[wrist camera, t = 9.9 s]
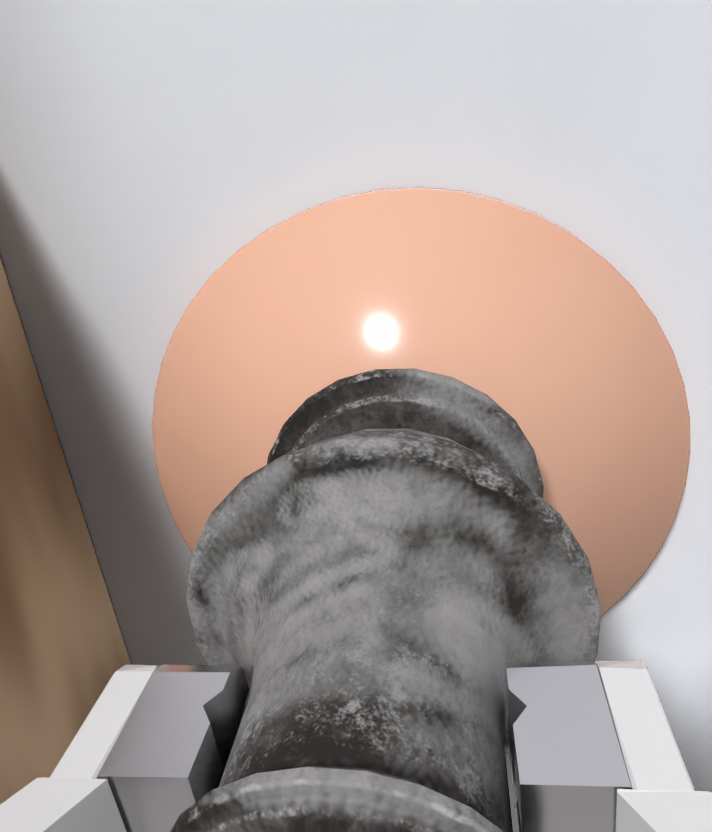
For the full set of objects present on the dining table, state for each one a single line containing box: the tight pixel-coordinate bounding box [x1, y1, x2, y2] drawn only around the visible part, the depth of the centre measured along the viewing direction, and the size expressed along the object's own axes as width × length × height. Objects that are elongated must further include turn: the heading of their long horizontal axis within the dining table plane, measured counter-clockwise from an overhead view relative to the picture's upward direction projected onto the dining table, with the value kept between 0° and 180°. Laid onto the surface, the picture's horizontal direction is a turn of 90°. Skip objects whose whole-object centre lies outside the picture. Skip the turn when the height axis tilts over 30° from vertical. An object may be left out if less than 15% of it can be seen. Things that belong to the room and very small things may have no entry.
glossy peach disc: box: [153, 187, 690, 616], centre depth 14 cm, size 11×11×1 cm
